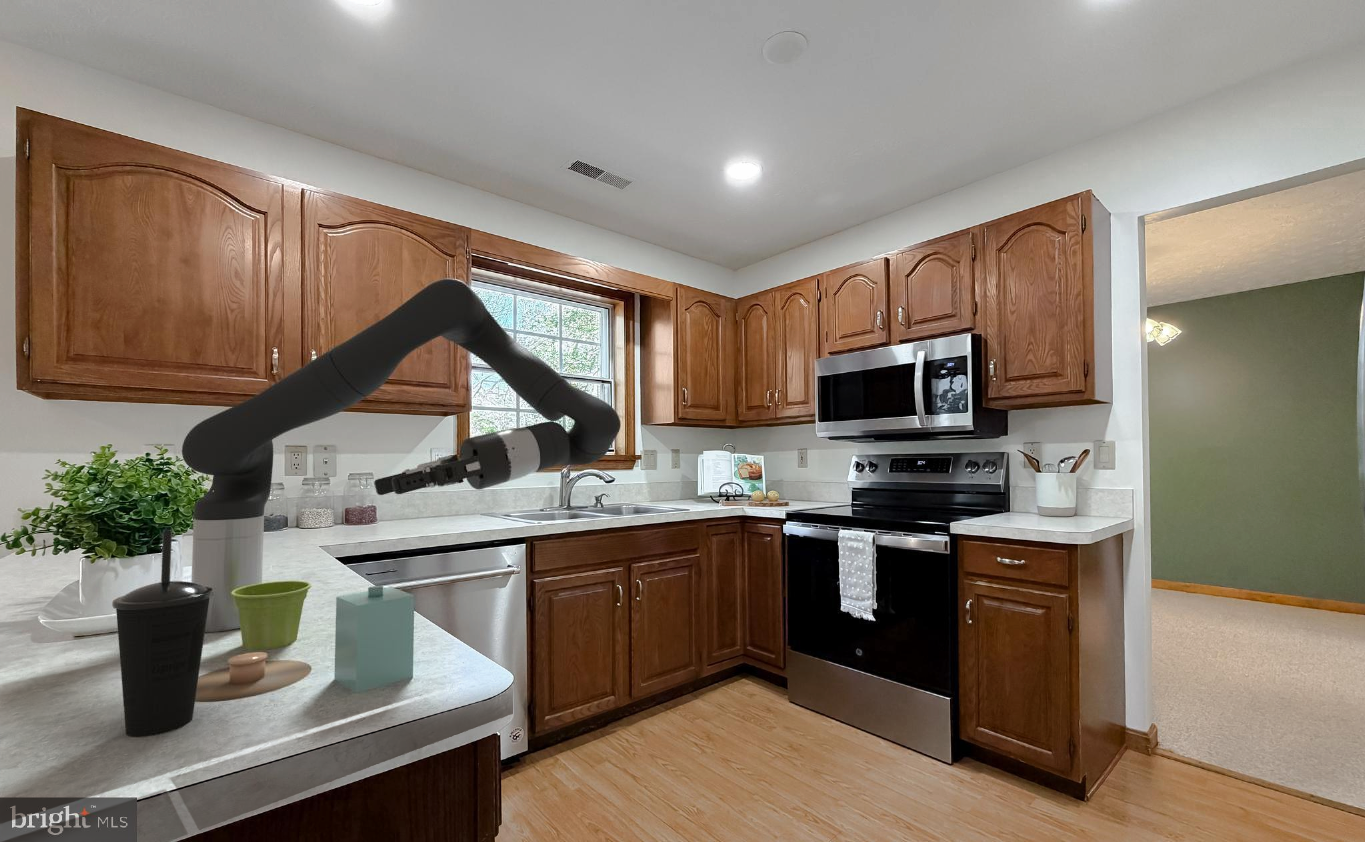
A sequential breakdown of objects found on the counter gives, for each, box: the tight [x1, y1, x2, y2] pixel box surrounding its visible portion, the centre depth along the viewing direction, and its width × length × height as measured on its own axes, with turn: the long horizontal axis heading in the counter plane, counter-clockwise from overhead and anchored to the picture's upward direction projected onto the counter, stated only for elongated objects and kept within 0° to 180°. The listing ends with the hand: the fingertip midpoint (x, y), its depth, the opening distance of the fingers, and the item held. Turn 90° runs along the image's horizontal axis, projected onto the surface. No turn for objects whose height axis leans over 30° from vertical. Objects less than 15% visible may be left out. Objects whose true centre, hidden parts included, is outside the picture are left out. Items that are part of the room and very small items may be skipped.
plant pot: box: [231, 580, 312, 651], centre depth 86 cm, size 9×9×9 cm
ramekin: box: [227, 651, 268, 684], centre depth 72 cm, size 4×4×2 cm
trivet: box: [195, 659, 312, 703], centre depth 72 cm, size 13×13×1 cm
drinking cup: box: [111, 529, 213, 738], centre depth 60 cm, size 8×8×20 cm
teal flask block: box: [334, 585, 415, 694], centre depth 72 cm, size 6×6×11 cm
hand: (384, 487), depth 79 cm, fingers open, 8 cm apart
